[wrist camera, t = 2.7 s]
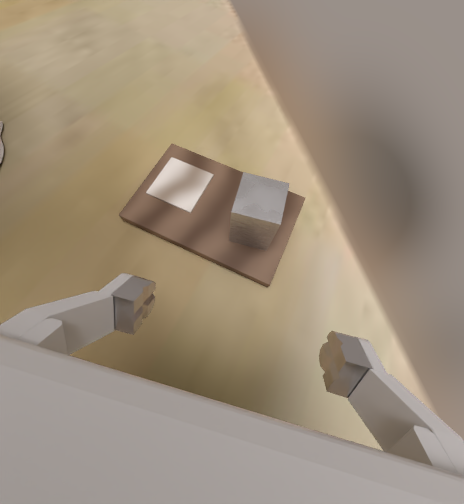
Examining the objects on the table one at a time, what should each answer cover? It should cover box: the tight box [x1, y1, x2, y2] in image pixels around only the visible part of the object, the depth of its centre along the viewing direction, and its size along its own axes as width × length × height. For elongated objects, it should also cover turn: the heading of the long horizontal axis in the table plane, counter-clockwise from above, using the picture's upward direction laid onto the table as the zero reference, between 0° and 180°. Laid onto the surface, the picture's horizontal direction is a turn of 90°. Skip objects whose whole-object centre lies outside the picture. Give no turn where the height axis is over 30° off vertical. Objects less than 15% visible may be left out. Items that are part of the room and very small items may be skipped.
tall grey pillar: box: [229, 172, 289, 251], centre depth 25 cm, size 5×5×8 cm
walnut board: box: [119, 144, 305, 287], centre depth 28 cm, size 22×14×8 cm, turn 65°
